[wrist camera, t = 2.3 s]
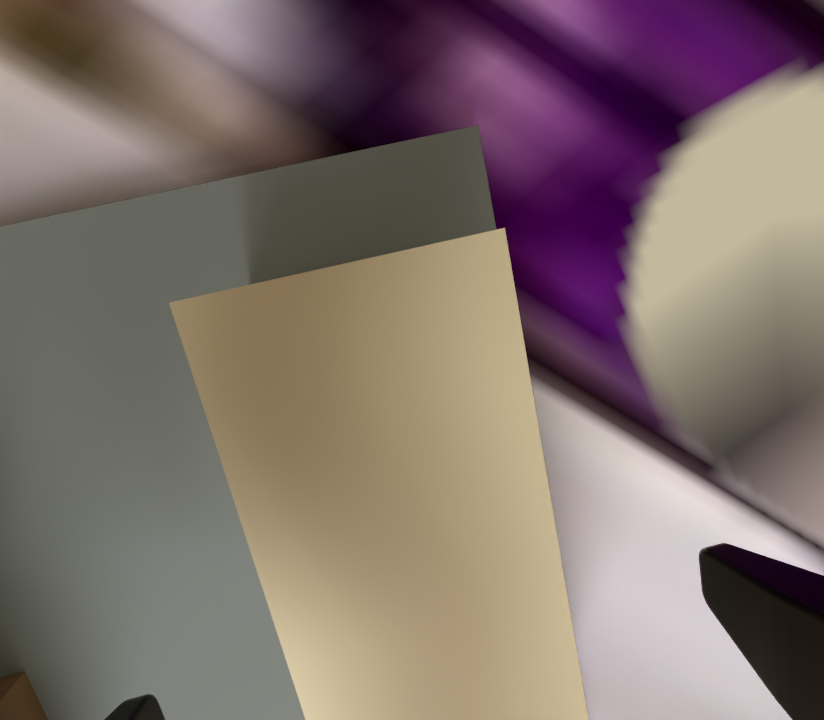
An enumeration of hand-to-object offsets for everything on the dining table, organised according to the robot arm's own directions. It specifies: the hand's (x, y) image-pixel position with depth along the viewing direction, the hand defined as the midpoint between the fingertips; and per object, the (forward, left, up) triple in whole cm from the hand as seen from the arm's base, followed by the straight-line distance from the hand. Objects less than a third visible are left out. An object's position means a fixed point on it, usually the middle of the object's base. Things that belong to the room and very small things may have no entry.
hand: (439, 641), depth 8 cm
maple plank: (0, 0, -3) cm, 3 cm away
